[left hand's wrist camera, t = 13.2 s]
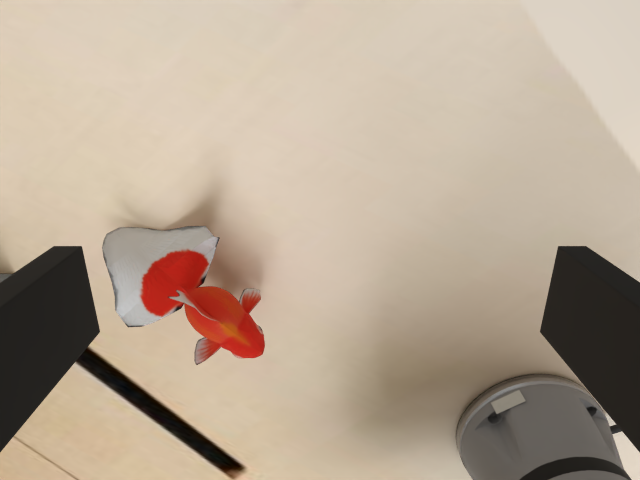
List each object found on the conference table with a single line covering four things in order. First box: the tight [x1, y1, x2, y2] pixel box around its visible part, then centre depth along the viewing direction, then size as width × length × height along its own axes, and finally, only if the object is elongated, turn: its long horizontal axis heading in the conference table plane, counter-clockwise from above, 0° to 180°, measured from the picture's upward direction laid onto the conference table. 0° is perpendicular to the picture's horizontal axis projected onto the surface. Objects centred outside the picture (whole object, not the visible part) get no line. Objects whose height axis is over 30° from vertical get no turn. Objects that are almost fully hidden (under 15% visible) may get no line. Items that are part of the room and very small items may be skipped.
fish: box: [102, 226, 265, 365], centre depth 37 cm, size 11×16×10 cm
